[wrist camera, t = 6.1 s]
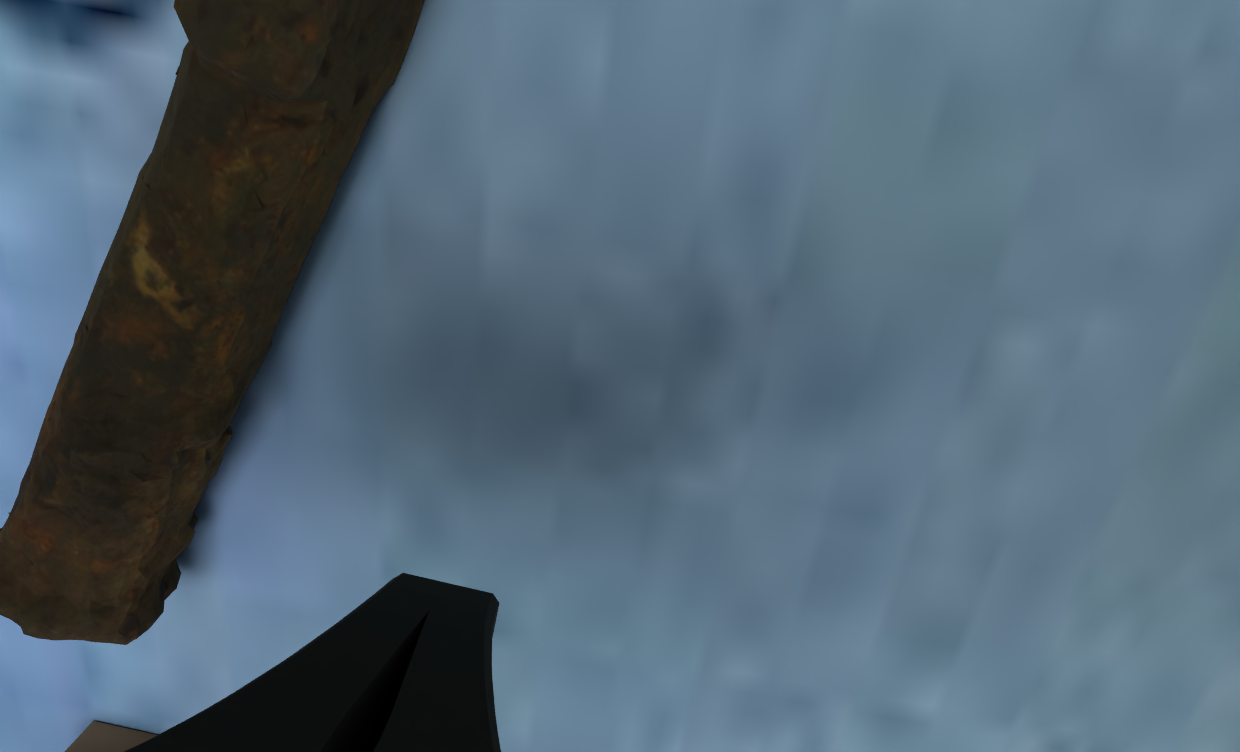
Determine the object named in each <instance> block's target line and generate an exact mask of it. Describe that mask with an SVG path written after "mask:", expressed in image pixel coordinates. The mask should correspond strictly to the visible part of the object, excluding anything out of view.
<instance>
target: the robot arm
mask: <svg viewBox="0 0 1240 752" xmlns="http://www.w3.org/2000/svg"><path fill="white" fill-rule="evenodd" d="M498 607H499V602H498V600H497V599H496V597H495V596H494V594H493V593H488V592H484V591H480V590H475V589H471V588H467V587H462V586H458V585H453V584H449V583H445V582H440V581H436V580H432V579H427V578H423V577H419V576H414V575H410V574H406V573H402V574H400V575H399V576H397V577H395V578H393V579H392V580H391V581H390V582H389V583H387V584H386V585H385V586H384V587H382V588H381V589H380V590H379V591H377V592H376V593H375V594H374V595H372V596H371V597H370V598H369V599H367V600H366V601H365V602H364V603H362V604H361V605H360V606H359V607H357V608H356V609H355V610H353V611H352V612H351V613H349V614H348V615H347V616H345V617H344V618H343V619H342V620H340V621H339V622H338V623H336V624H335V625H334V626H332V627H331V628H329V629H328V630H327V631H325V632H324V633H322V634H321V635H320V636H318V637H317V638H315V639H314V640H313V641H311V642H310V643H308V644H307V645H306V646H304V647H303V648H302V649H300V650H299V651H297V652H296V653H294V654H293V655H292V656H290V657H289V658H287V659H286V660H284V661H283V662H281V663H280V664H278V665H276V666H275V667H273V668H272V669H270V670H269V671H267V672H266V673H264V674H262V675H261V676H259V677H258V678H256V679H255V680H253V681H251V682H250V683H248V684H247V685H245V686H244V687H242V688H240V689H239V690H237V691H236V692H234V693H233V694H231V695H229V696H228V697H226V698H224V699H222V700H221V701H219V702H217V703H216V704H214V705H212V706H210V707H209V708H207V709H205V710H204V711H202V712H200V713H198V714H196V715H195V716H193V717H191V718H189V719H187V720H185V721H184V722H182V723H180V724H178V725H176V726H174V727H172V728H170V729H168V730H167V731H165V732H163V733H161V734H159V735H157V736H155V737H153V738H151V739H149V740H147V741H145V742H143V743H141V744H139V745H137V746H135V747H133V748H131V749H128V750H126V751H124V752H501V749H500V743H499V737H498V731H497V723H496V716H495V706H494V694H493V681H492V637H493V632H494V627H495V622H496V617H497V612H498Z"/></svg>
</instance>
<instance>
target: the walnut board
mask: <svg viewBox="0 0 1240 752" xmlns="http://www.w3.org/2000/svg"><path fill="white" fill-rule="evenodd" d="M155 736H157V735H155V734H150V733H146V732H141V731H137V730H132V729H128V728H123V727H119V726H114V725H110V724H105V723H101V722H96V721H93V722H92V723H91V724H90V725H89V726H88V727H87V728H86V730H85V731H84V732H83V733H82V734H81V735H80V736H79V737H78V738H77V739H76V740H75V741H74V742H73V743H72V744H71V746H70V747H69V748H68V749H67V750H66V751H65V752H124V751H126V750H128V749H131V748H133V747H135V746H137V745H139V744H141V743H143V742H145V741H147V740H149V739H151V738H153V737H155Z"/></svg>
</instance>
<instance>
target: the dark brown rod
mask: <svg viewBox="0 0 1240 752" xmlns="http://www.w3.org/2000/svg"><path fill="white" fill-rule="evenodd" d="M423 2H424V0H175V2H174V8H175V10H176V12H177V15H178V17H179V19H180V22H181V24H182V26H183V28H184V31H185V33H186V35H187V37H188V40H189V41H188V43H187V45H186V46H185V48H184V50H183V54H182V58H181V62H180V66H179V67H178V70H177V72H176V75H177V77H176V80H175V83H174V87H173V90H172V93H171V96H170V99H169V103H168V106H167V109H166V112H165V115H164V118H163V121H162V124H161V126H160V130H159V133H158V136H157V139H156V142H155V145H154V148H153V151H152V153H151V154H150V156H149V158H148V159H147V161H146V163H145V164H144V166H143V167H142V169H141V171H140V172H139V175H138V178H137V181H136V184H135V186H134V189H133V192H132V194H131V197H130V200H129V202H128V205H127V208H126V210H125V213H124V216H123V218H122V221H121V223H120V226H119V228H118V230H117V233H116V235H115V238H114V240H113V242H112V245H111V247H110V250H109V252H108V254H107V257H106V259H105V261H104V264H103V266H102V268H101V271H100V273H99V276H98V278H97V281H96V284H95V286H94V289H93V292H92V294H91V297H90V300H89V302H88V305H87V308H86V310H85V313H84V315H83V318H82V320H81V322H80V325H79V327H78V330H77V332H76V334H75V339H74V344H73V347H72V349H71V352H70V354H69V356H68V359H67V361H66V363H65V366H64V368H63V371H62V374H61V376H60V379H59V382H58V385H57V387H56V390H55V393H54V395H53V398H52V401H51V403H50V405H49V407H48V410H47V413H46V415H45V418H44V421H43V424H42V427H41V430H40V433H39V436H38V439H37V443H36V446H35V449H34V452H33V455H32V458H31V461H30V464H29V466H28V468H27V470H26V473H25V475H24V477H23V479H22V481H21V485H20V490H19V494H18V496H17V498H16V501H15V503H14V506H13V508H12V510H11V513H9V514H10V515H9V517H8V519H7V521H6V523H5V524H4V526H3V527H2V528H1V529H0V615H2V616H4V617H6V618H9V619H11V620H12V621H14V622H15V623H17V624H18V625H19V626H21V628H22V631H23V633H24V634H25V635H29V636H32V637H36V638H40V639H49V640H85V641H91V642H102V643H114V644H123V645H127V644H128V643H130V642H131V641H133V640H135V639H137V638H138V637H139V636H141V635H142V634H143V633H144V632H146V631H147V630H148V629H149V628H150V627H151V626H152V625H153V624H154V622H155V621H156V620H157V619H158V618H159V616H160V615H161V614H162V613H163V611H164V600H165V599H166V598H167V597H168V596H169V595H170V594H171V593H172V592H173V591H174V590H175V589H177V585H178V582H179V578H180V575H181V571H180V569H179V567H178V564H177V561H176V559H175V558H176V557H177V556H178V555H179V554H180V553H181V552H182V551H183V550H184V549H185V548H186V546H187V545H188V544H189V543H190V542H191V540H192V538H193V535H194V533H195V531H194V527H195V525H196V522H197V520H198V517H197V516H196V515H195V513H194V512H193V511H194V509H195V508H196V507H197V505H198V503H199V501H200V499H201V497H202V495H203V493H204V491H205V489H206V486H207V483H208V482H209V481H210V479H211V478H212V477H213V476H214V475H215V473H216V471H217V469H218V467H219V465H220V463H221V460H222V457H223V454H224V451H225V447H226V445H227V444H228V443H229V441H230V440H231V437H232V429H231V423H232V421H233V419H234V417H235V415H236V413H237V411H238V408H239V406H240V404H241V401H242V399H243V396H244V394H245V392H246V390H247V388H248V386H249V385H250V383H251V381H252V379H253V378H254V376H255V374H256V372H257V370H258V369H259V367H260V365H261V364H262V362H263V360H264V359H265V357H266V356H267V353H268V351H269V349H270V347H271V345H272V336H273V334H274V331H275V329H276V327H277V324H278V322H279V319H280V317H281V314H282V312H283V310H284V307H285V305H286V302H287V300H288V298H289V295H290V293H291V291H292V289H293V286H294V284H295V282H296V279H297V277H298V275H299V273H300V270H301V268H302V266H303V264H304V261H305V259H306V257H307V254H308V252H309V250H310V247H311V245H312V243H313V240H314V238H315V236H316V234H317V232H318V230H319V228H320V226H321V224H322V222H323V220H324V218H325V215H326V213H327V211H328V208H329V206H330V204H331V201H332V199H333V196H334V194H335V191H336V188H337V186H338V183H339V180H340V179H341V177H342V175H343V173H344V171H345V169H346V167H347V165H348V163H349V161H350V159H351V157H352V155H353V152H354V150H355V148H356V145H357V143H358V141H359V138H360V136H361V133H362V131H363V129H364V126H365V125H366V123H367V121H368V119H369V117H370V116H371V114H372V112H373V110H374V109H375V107H376V106H377V104H378V102H379V101H380V99H381V98H382V96H383V95H384V93H385V92H386V90H387V89H388V88H389V87H391V86H392V85H393V84H394V82H395V80H396V77H397V75H398V73H399V71H400V68H401V65H402V63H403V61H404V58H405V55H406V52H407V50H408V47H409V44H410V42H411V39H412V37H413V34H414V31H415V27H416V24H417V21H418V17H419V14H420V11H421V8H422V5H423Z"/></svg>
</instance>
